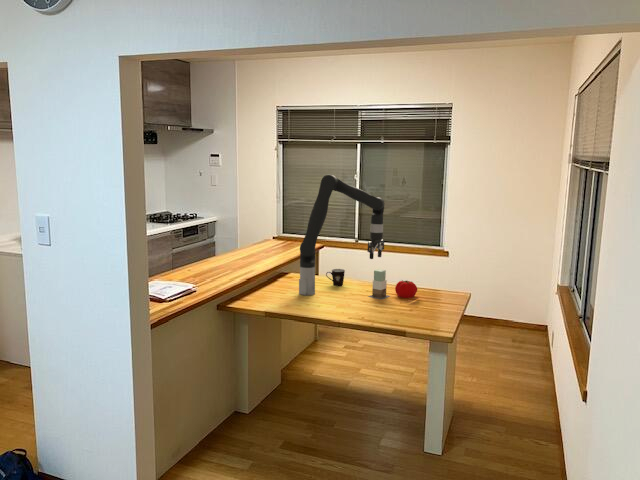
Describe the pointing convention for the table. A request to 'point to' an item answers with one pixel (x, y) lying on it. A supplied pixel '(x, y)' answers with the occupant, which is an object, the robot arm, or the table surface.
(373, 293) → the walnut block
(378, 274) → the sage block
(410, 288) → the tomato
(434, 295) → the table surface
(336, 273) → the coffee mug
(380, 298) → the slate coaster
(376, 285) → the cream block
